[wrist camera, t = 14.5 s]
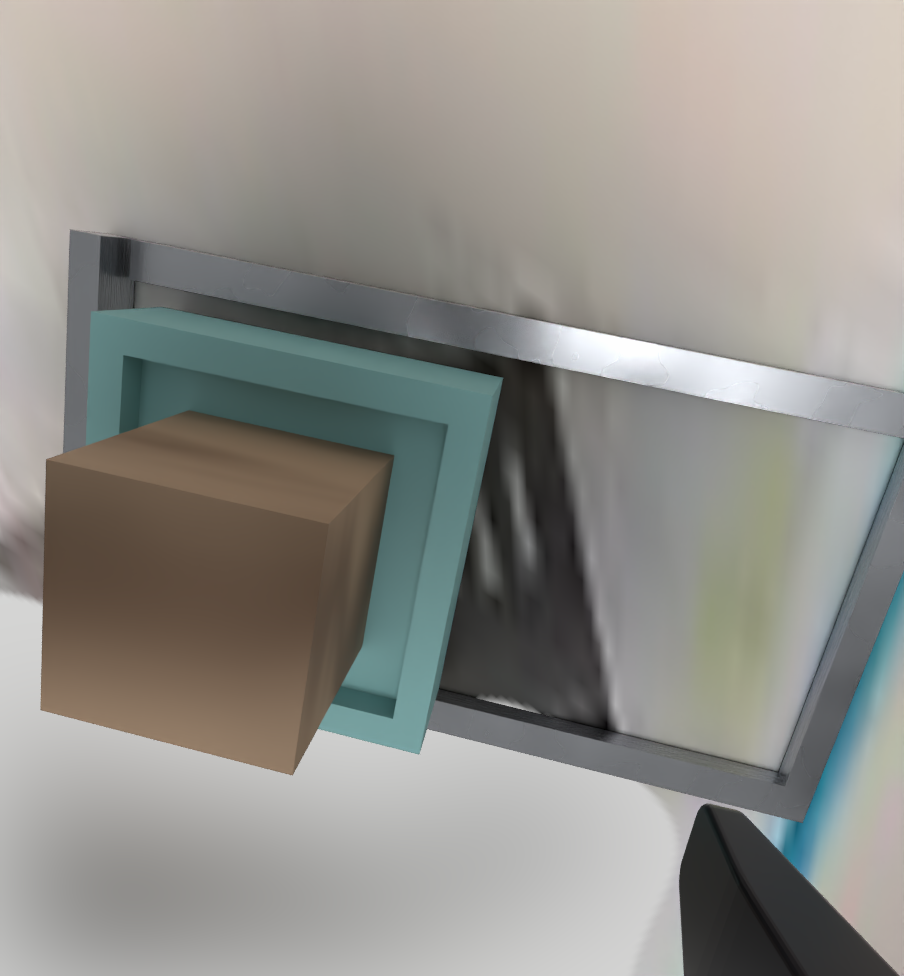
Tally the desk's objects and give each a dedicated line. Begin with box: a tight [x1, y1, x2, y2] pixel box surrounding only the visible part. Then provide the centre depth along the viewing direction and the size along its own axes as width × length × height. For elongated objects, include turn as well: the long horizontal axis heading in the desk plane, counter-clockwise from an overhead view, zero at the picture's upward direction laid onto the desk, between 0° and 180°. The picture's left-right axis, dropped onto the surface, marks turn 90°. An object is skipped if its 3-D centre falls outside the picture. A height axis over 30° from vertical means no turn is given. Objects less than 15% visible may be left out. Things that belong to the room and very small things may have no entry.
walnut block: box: [41, 410, 394, 775], centre depth 15 cm, size 5×5×5 cm
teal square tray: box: [86, 307, 503, 754], centre depth 19 cm, size 9×9×4 cm
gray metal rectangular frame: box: [63, 230, 904, 823], centre depth 19 cm, size 12×22×2 cm, turn 80°
